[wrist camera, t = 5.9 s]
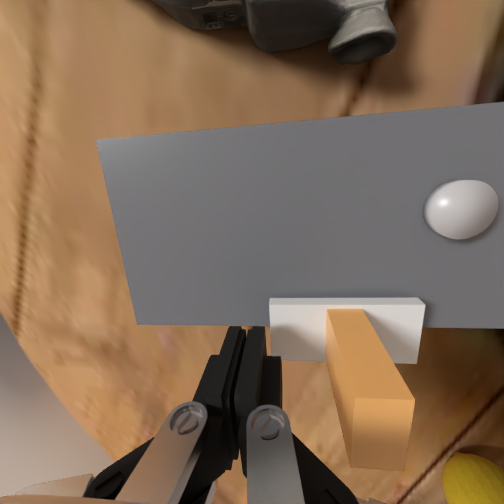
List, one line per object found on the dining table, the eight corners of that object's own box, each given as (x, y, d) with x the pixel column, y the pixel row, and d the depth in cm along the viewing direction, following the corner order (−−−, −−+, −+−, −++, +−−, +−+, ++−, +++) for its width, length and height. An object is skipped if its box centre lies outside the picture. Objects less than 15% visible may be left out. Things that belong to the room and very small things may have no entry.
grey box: (497, 123, 16) (686, 80, 8) (467, 277, 19) (587, 344, 11) (162, 151, 19) (83, 137, 11) (182, 280, 22) (130, 336, 14)
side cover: (369, 253, 19) (527, 399, 7) (366, 292, 20) (500, 484, 8) (274, 255, 20) (260, 387, 8) (275, 293, 20) (265, 464, 8)
